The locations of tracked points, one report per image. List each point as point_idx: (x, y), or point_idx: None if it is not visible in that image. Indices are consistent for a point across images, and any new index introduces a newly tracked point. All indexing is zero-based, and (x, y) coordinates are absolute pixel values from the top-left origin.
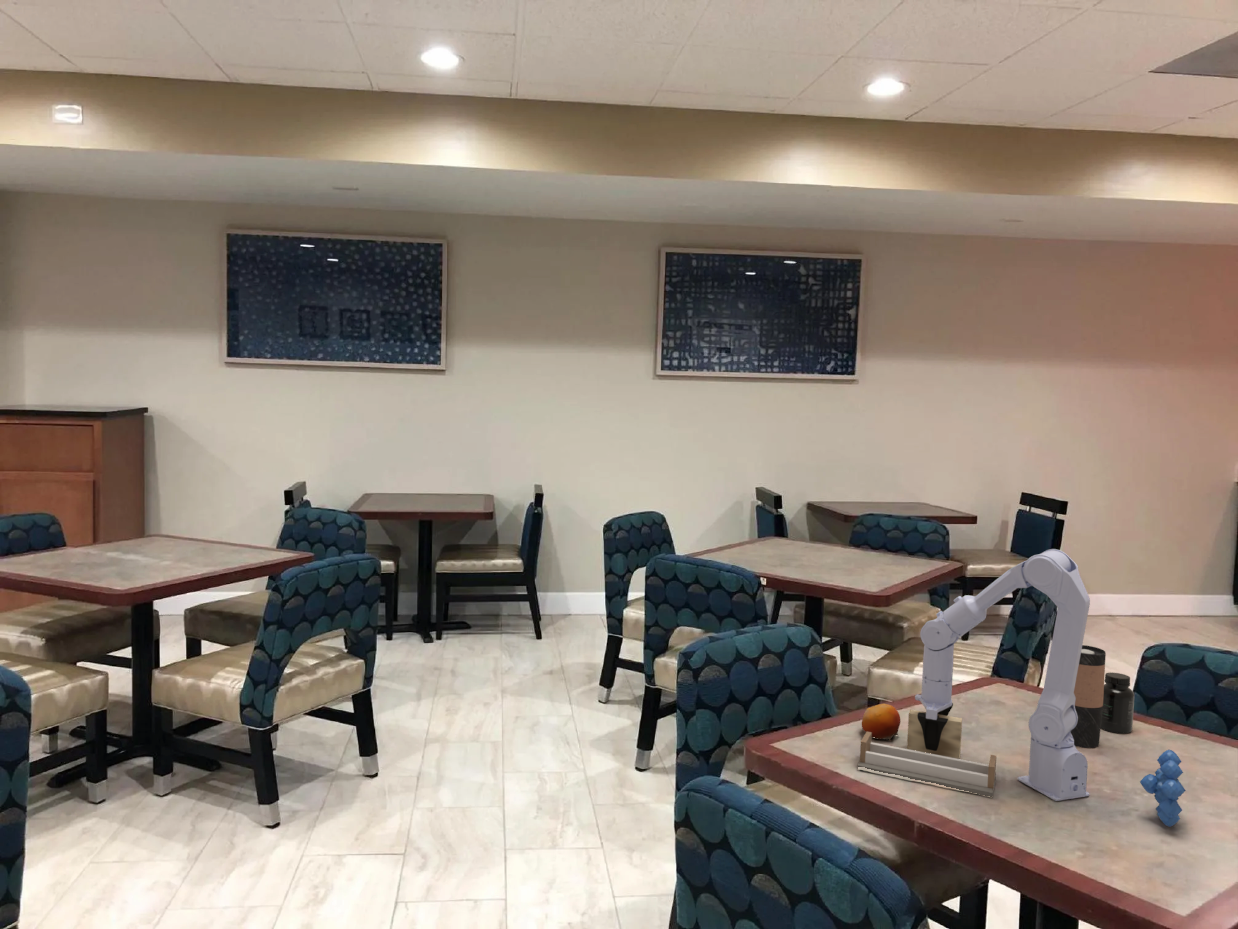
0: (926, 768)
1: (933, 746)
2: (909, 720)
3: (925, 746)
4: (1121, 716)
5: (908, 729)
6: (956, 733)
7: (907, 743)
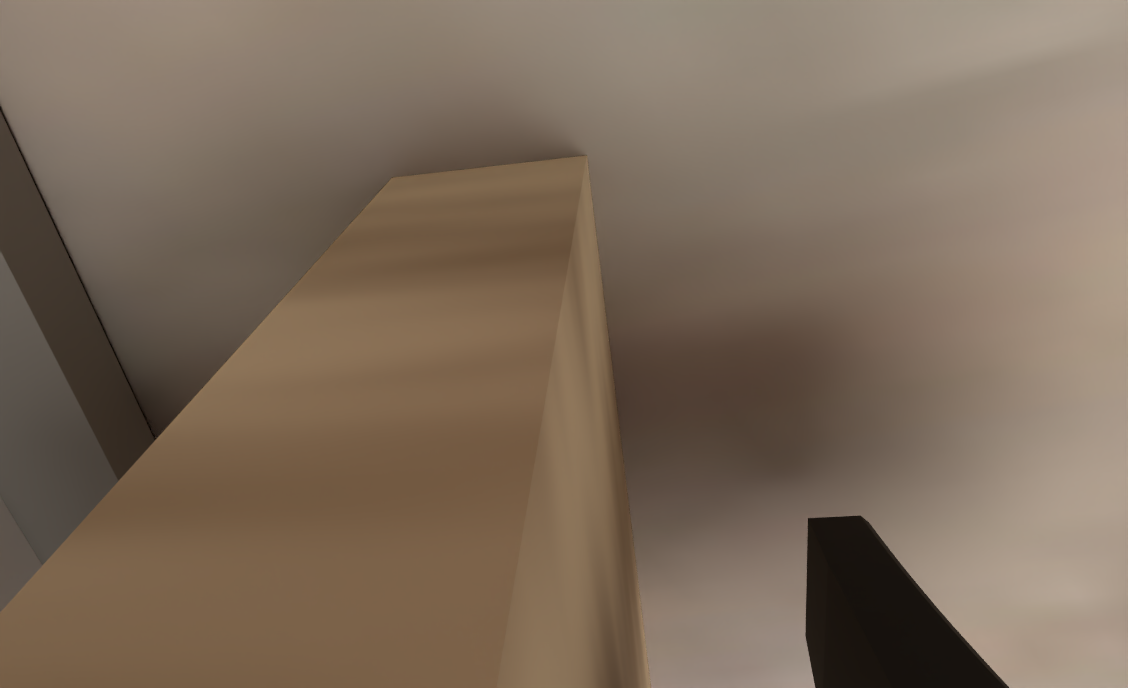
0: None
1: None
2: (97, 557)
3: None
4: None
5: (228, 370)
6: None
7: (354, 225)
